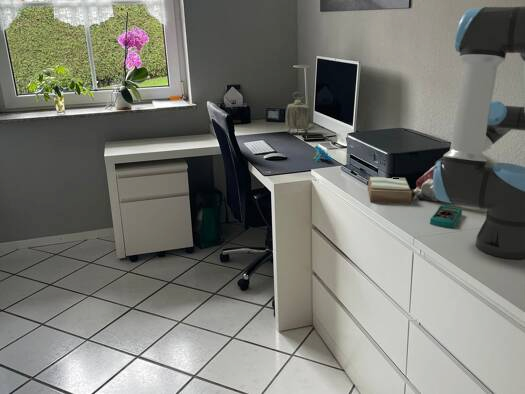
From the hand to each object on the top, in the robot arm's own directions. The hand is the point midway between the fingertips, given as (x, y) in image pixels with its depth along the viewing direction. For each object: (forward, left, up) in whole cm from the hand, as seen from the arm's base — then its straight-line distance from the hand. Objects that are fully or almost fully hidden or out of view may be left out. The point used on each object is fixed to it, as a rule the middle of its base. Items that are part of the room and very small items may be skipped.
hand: (427, 185), depth 184 cm
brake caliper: (-1, -1, -5) cm, 5 cm away
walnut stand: (0, +14, -5) cm, 15 cm away
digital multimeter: (-23, -3, -5) cm, 24 cm away
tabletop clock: (+118, +57, -5) cm, 132 cm away
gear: (+51, +40, -5) cm, 65 cm away
